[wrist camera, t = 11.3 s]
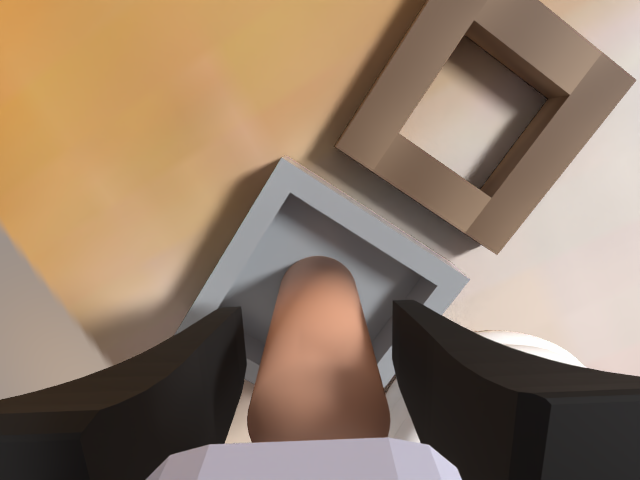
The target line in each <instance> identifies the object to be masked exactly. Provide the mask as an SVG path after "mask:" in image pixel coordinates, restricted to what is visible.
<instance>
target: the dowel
mask: <svg viewBox="0 0 640 480" xmlns="http://www.w3.org/2000/svg"><path fill="white" fill-rule="evenodd" d="M247 426H248V432H249V436H250V438H251V441H252V443H258V442H283V441H309V440H334V439H360V438H385V437H388V434H389V430H390V411H389V406H388V402H387V399H386V395H385V391H384V387H383V384H382V380H381V376H380V373H379V369H378V365H377V361H376V358H375V354H374V350H373V346H372V343H371V339H370V335H369V332H368V328H367V324H366V320H365V317H364V313H363V309H362V305H361V302H360V298H359V294H358V291H357V287H356V283H355V280H354V277H353V276H352V274H351V272H350V271H349V270H348V268H347V267H346V266H345V265H343V264H342V263H341V262H339V261H337V260H335V259H333V258H330V257H326V256H311V257H306V258H304V259H301V260H299V261H297V262H296V263H294V264H293V265H292V266H291V267H290V268H289V269H288V270H287V271H286V273H285V274H284V276H283V278H282V281H281V284H280V288H279V292H278V296H277V300H276V304H275V308H274V312H273V315H272V319H271V323H270V327H269V331H268V335H267V339H266V343H265V347H264V351H263V355H262V358H261V362H260V366H259V370H258V374H257V378H256V382H255V386H254V390H253V394H252V397H251V401H250V405H249V409H248V416H247Z"/></svg>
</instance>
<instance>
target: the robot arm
mask: <svg viewBox="0 0 640 480" xmlns="http://www.w3.org/2000/svg"><path fill="white" fill-rule="evenodd" d="M392 361H393V366H394V370H395V374H396V378H397V382H398V386H399V389H400V392H401V394H402V397H403V399H404V402H405V405H406V407H407V410H408V412H409V415H410V417H411V420H412V422H413V425H414V428H415V430H416V433H417V435H418V438H419V440H420V443H416V442H411V441H405V440H400V439H394V438H389V437H385V438H360V439H334V440H309V441H283V442H258V443H233V444H224V443H225V440H226V438H227V435H228V432H229V429H230V426H231V423H232V420H233V417H234V414H235V411H236V408H237V405H238V402H239V399H240V396H241V393H242V389H243V384H244V379H245V373H246V368H247V359H246V349H245V339H244V329H243V319H242V309H241V306H239V307H221V308H219V309H217V310H215V311H213V312H211V313H210V314H208V315H207V316H205V317H203V318H202V319H200V320H199V321H197V322H196V323H194V324H192V325H191V326H189V327H188V328H186V329H184V330H183V331H181V332H180V333H178V334H176V335H174V336H173V337H171V338H169V339H167V340H166V341H164V342H162V343H160V344H159V345H157V346H155V347H153V348H151V349H149V350H147V351H145V352H143V353H141V354H139V355H137V356H135V357H133V358H131V359H128V360H126V361H124V362H122V363H119V364H117V365H114V366H112V367H109V368H106V369H104V370H101V371H98V372H96V373H93V374H90V375H88V376H85V377H82V378H79V379H76V380H73V381H70V382H67V383H64V384H60V385H57V386H53V387H50V388H46V389H43V390H39V391H36V392H31V393H28V394H24V395H20V396H15V397H10V398H6V399H2V400H0V480H640V377H639V376H632V375H625V374H618V373H611V372H605V371H599V370H594V369H589V368H585V367H580V366H575V365H570V364H566V363H562V362H558V361H554V360H550V359H546V358H543V357H540V356H536V355H533V354H529V353H526V352H523V351H520V350H517V349H514V348H511V347H508V346H506V345H503V344H500V343H498V342H495V341H493V340H490V339H488V338H485V337H483V336H481V335H479V334H477V333H475V332H473V331H470V330H468V329H466V328H464V327H462V326H460V325H458V324H456V323H455V322H453V321H451V320H449V319H447V318H445V317H444V316H442V315H440V314H438V313H437V312H435V311H433V310H431V309H430V308H428V307H426V306H424V305H423V304H421V303H419V302H417V301H415V300H393V310H392Z"/></svg>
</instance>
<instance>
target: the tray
mask: <svg viewBox="0 0 640 480" xmlns="http://www.w3.org/2000/svg"><path fill="white" fill-rule="evenodd" d="M311 256H326V257H330V258H333V259H335V260H337V261H339V262H341V263H342V264H343V265H345V266H346V267H347V268H348V270H349V271H350V272H351V274H352V276H353V277H354V280H355V283H356V287H357V291H358V294H359V298H360V302H361V305H362V309H363V313H364V317H365V320H366V324H367V328H368V332H369V335H370V339H371V343H372V346H373V350H374V354H375V358H376V361H377V365H378V369H379V373H380V376H381V380H382V384H383V387H384V388H385V386H386V385H387V384H388V383H389V381H390V380H391V379H392V377H393V376H394V375H395V370H394V366H393V361H392V310H393V300H415V301H417V302H419V303H421V304H423V305H424V306H426V307H428V308H430V309H431V310H433V311H435V312H437V313H438V314H440V315H442V314H443V313H444V312H445V310H446V309H447V308H448V307H449V305H450V304H451V303H452V302H453V300H454V299H455V298H456V297H457V295H458V294H459V293H460V291H461V290H462V289H463V288H464V286H465V285H466V284H467V283H468V281H469V280H470V279H469V278H468V277H467V276H466V275H465V274H464V273H463V272H461V271H460V270H459V269H458V268H457V267H456V266H455V265H454V264H453V263H452V262H450V261H449V260H447V259H446V258H444V257H443V256H441V255H440V254H438V253H437V252H435V251H434V250H432V249H430V248H429V247H427V246H426V245H424V244H423V243H421V242H420V241H418V240H417V239H415V238H414V237H412V236H410V235H409V234H407V233H406V232H404V231H403V230H401V229H400V228H398V227H397V226H395V225H394V224H392V223H390V222H389V221H387V220H386V219H384V218H383V217H381V216H380V215H378V214H377V213H375V212H374V211H372V210H370V209H369V208H367V207H366V206H364V205H363V204H361V203H360V202H358V201H357V200H355V199H354V198H352V197H350V196H349V195H347V194H346V193H344V192H343V191H341V190H340V189H338V188H337V187H335V186H334V185H332V184H330V183H329V182H327V181H326V180H324V179H323V178H321V177H320V176H318V175H317V174H315V173H313V172H312V171H310V170H309V169H307V168H306V167H304V166H303V165H301V164H300V163H298V162H297V161H295V160H293V159H292V158H290V157H289V156H287V155H286V156H284V157H282V158H281V159H280V161H279V163H278V164H277V166H276V168H275V169H274V171H273V173H272V174H271V176H270V178H269V179H268V181H267V183H266V184H265V186H264V188H263V189H262V191H261V193H260V194H259V196H258V198H257V199H256V201H255V202H254V204H253V206H252V207H251V209H250V211H249V212H248V214H247V216H246V217H245V219H244V221H243V222H242V224H241V226H240V227H239V229H238V231H237V232H236V234H235V236H234V237H233V239H232V241H231V242H230V244H229V246H228V247H227V249H226V250H225V252H224V254H223V255H222V257H221V259H220V260H219V262H218V264H217V265H216V267H215V269H214V270H213V272H212V274H211V275H210V277H209V279H208V280H207V282H206V284H205V285H204V287H203V289H202V290H201V292H200V293H199V295H198V297H197V298H196V300H195V302H194V303H193V305H192V307H191V308H190V310H189V312H188V313H187V315H186V317H185V318H184V320H183V322H182V323H181V325H180V327H179V328H178V330H177V332H176V333H175V335H176V334H178V333H180V332H181V331H183V330H184V329H186V328H188V327H189V326H191V325H192V324H194V323H196V322H197V321H199V320H200V319H202V318H203V317H205V316H207V315H208V314H210V313H211V312H213V311H215V310H217V309H219V308H221V307H239V306H241V309H242V319H243V329H244V339H245V349H246V359H247V368H246V373H245V380H247V381H249V382H251V383H253V384H254V385H255V382H256V378H257V374H258V370H259V366H260V362H261V358H262V355H263V351H264V347H265V343H266V339H267V335H268V331H269V327H270V323H271V319H272V315H273V312H274V308H275V304H276V300H277V296H278V292H279V288H280V284H281V281H282V278H283V276H284V274H285V273H286V271H287V270H288V269H289V268H290V267H291V266H292V265H293V264H294V263H296V262H297V261H299V260H301V259H304V258H306V257H311Z"/></svg>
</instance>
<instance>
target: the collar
mask: <svg viewBox="0 0 640 480" xmlns="http://www.w3.org/2000/svg"><path fill="white" fill-rule="evenodd" d="M464 35H466V36H467V37H468V38H470V39H471V40H472V41H473V42H475V43H476V44H477V45H479V46H480V47H481V48H483V49H484V50H485V51H487V52H488V53H489V54H490V55H492V56H493V57H494V58H496V59H497V60H498V61H500V62H501V63H502V64H503V65H505V66H506V67H507V68H509V69H510V70H511V71H513V72H514V73H515V74H516V75H518V76H519V77H520V78H522V79H523V80H524V81H526V82H527V83H528V84H530V85H531V86H532V87H533V88H535V89H536V90H537V91H539V92H540V93H541V94H543V95H544V96H545V97H546V98H548V100H547V101H546V102H545V104H544V105H543V106H542V108H541V109H540V110H539V112H538V113H537V114H536V116H535V117H534V118H533V120H532V121H531V122H530V124H529V125H528V126H527V128H526V129H525V130H524V132H523V133H522V134H521V136H520V137H519V138H518V140H517V141H516V142H515V144H514V145H513V146H512V148H511V149H510V150H509V152H508V153H507V154H506V156H505V157H504V158H503V160H502V161H501V162H500V164H499V165H498V166H497V168H496V169H495V170H494V172H493V173H492V174H491V176H490V177H489V178H488V180H487V181H486V182H485V184H484V185H483V186H482V188H481V189H478V188H477V187H475V186H474V185H472V184H471V183H469V182H468V181H467V180H465V179H464V178H462V177H461V176H459V175H458V174H457V173H455V172H454V171H452V170H451V169H449V168H448V167H446V166H445V165H444V164H442V163H441V162H439V161H438V160H436V159H435V158H434V157H432V156H431V155H429V154H428V153H426V152H425V151H423V150H422V149H421V148H419V147H418V146H416V145H415V144H413V143H412V142H411V141H409V140H408V139H406V138H405V137H403V136H402V135H400V134H399V131H400V130H401V128H402V127H403V125H404V124H405V122H406V121H407V120H408V118H409V117H410V115H411V114H412V112H413V111H414V109H415V108H416V106H417V105H418V103H419V102H420V100H421V99H422V97H423V96H424V94H425V93H426V91H427V90H428V88H429V87H430V85H431V84H432V82H433V81H434V79H435V78H436V76H437V75H438V73H439V72H440V70H441V69H442V67H443V66H444V64H445V63H446V61H447V60H448V58H449V57H450V55H451V54H452V52H453V51H454V49H455V48H456V46H457V45H458V43H459V42H460V40H461V39H462V37H463V36H464ZM635 81H636V79H635V78H633V77H632V76H631V75H630V74H628V73H627V72H626V71H625V70H624V69H622V68H621V67H620V66H619V65H617V64H616V63H615V62H614V61H613V60H611V59H610V58H609V57H608V56H606V55H605V54H604V53H603V52H601V51H600V50H599V49H598V48H597V47H595V46H594V45H593V44H592V43H590V42H589V41H588V40H587V39H586V38H584V37H583V36H582V35H581V34H579V33H578V32H577V31H576V30H574V29H573V28H572V27H571V26H570V25H568V24H567V23H566V22H565V21H563V20H562V19H561V18H560V17H558V16H557V15H556V14H555V13H554V12H552V11H551V10H550V9H549V8H547V7H546V6H545V5H544V4H543V3H541V2H540V1H539V0H427V1H426V2H425V4H424V6H423V7H422V9H421V10H420V12H419V13H418V15H417V17H416V18H415V20H414V21H413V23H412V24H411V26H410V28H409V29H408V31H407V32H406V34H405V36H404V37H403V39H402V40H401V42H400V43H399V45H398V47H397V48H396V50H395V51H394V53H393V54H392V56H391V58H390V59H389V61H388V62H387V64H386V65H385V67H384V69H383V70H382V72H381V73H380V75H379V77H378V78H377V80H376V81H375V83H374V84H373V86H372V88H371V89H370V91H369V92H368V94H367V95H366V97H365V99H364V100H363V102H362V103H361V105H360V106H359V108H358V110H357V111H356V113H355V114H354V116H353V118H352V119H351V121H350V122H349V124H348V125H347V127H346V129H345V130H344V132H343V133H342V135H341V136H340V138H339V140H338V141H337V143H336V144H335V146H334V147H336V148H337V149H339V150H340V151H342V152H343V153H345V154H346V155H348V156H349V157H351V158H352V159H354V160H355V161H357V162H358V163H360V164H361V165H363V166H364V167H366V168H367V169H369V170H370V171H372V172H373V173H375V174H376V175H378V176H379V177H381V178H382V179H384V180H385V181H387V182H388V183H390V184H391V185H393V186H394V187H396V188H397V189H399V190H400V191H402V192H403V193H405V194H406V195H408V196H409V197H411V198H412V199H414V200H415V201H417V202H418V203H420V204H421V205H423V206H424V207H426V208H427V209H429V210H430V211H431V212H433V213H434V214H436V215H437V216H439V217H440V218H442V219H443V220H445V221H446V222H448V223H449V224H451V225H452V226H454V227H455V228H457V229H458V230H460V231H461V232H463V233H464V234H466V235H467V236H469V237H470V238H472V239H473V240H475V241H476V242H478V243H479V244H481V245H482V246H484V247H486V248H487V249H489V250H490V251H492V252H493V253H495V254H497V255H498V253H499V252H500V251H501V250H502V248H503V247H504V246H505V245H506V243H507V242H508V241H509V240H510V238H511V237H512V236H513V235H514V233H515V232H516V231H517V230H518V228H519V227H520V226H521V224H522V223H523V222H524V221H525V219H526V218H527V217H528V216H529V214H530V213H531V212H532V211H533V209H534V208H535V207H536V206H537V204H538V203H539V202H540V201H541V199H542V198H543V197H544V196H545V194H546V193H547V192H548V191H549V189H550V188H551V187H552V186H553V184H554V183H555V182H556V181H557V179H558V178H559V177H560V176H561V174H562V173H563V172H564V170H565V169H566V168H567V167H568V165H569V164H570V163H571V162H572V160H573V159H574V158H575V157H576V155H577V154H578V153H579V152H580V150H581V149H582V148H583V147H584V145H585V144H586V143H587V142H588V140H589V139H590V138H591V137H592V135H593V134H594V133H595V132H596V130H597V129H598V128H599V127H600V125H601V124H602V123H603V122H604V120H605V119H606V118H607V116H608V115H609V114H610V113H611V111H612V110H613V109H614V108H615V106H616V105H617V104H618V103H619V101H620V100H621V99H622V98H623V96H624V95H625V94H626V93H627V91H628V90H629V89H630V88H631V86H632V85H633V84H634V83H635Z"/></svg>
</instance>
